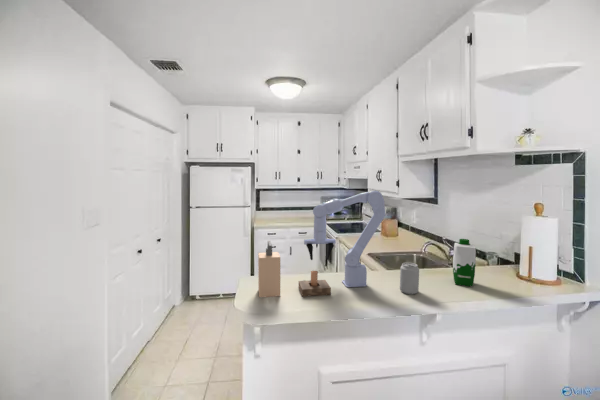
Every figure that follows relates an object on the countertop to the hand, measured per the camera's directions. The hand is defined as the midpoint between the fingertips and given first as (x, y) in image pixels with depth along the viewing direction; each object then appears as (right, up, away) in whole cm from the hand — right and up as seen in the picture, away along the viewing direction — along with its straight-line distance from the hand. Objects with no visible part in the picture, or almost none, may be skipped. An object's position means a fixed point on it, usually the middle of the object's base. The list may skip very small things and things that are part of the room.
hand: (319, 259), depth 139 cm
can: (+37, -12, -12) cm, 41 cm away
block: (-3, -11, -12) cm, 17 cm away
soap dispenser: (-22, -12, -16) cm, 29 cm away
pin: (-3, -11, -12) cm, 16 cm away
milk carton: (+66, -11, -1) cm, 67 cm away
